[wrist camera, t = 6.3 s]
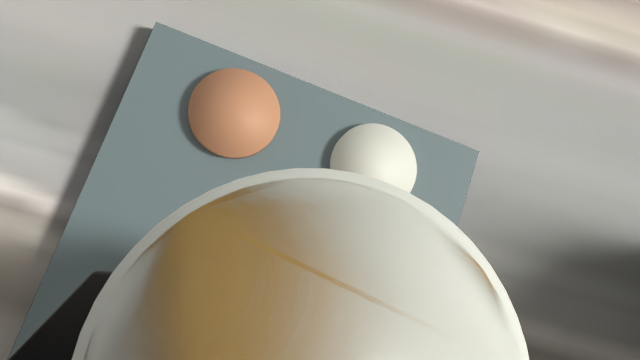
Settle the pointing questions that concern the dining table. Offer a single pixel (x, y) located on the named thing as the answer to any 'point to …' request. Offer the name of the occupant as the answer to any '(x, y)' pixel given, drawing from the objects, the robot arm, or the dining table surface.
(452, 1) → the dining table surface
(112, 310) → the amber cup
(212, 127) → the card
